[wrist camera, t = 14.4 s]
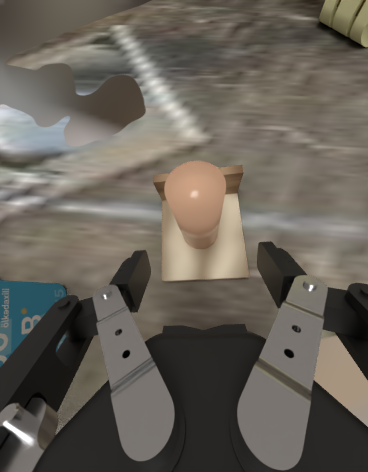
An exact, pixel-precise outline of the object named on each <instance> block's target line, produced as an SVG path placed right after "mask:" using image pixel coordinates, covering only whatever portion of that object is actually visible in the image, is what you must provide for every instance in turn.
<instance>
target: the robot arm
mask: <svg viewBox="0 0 368 472" xmlns="http://www.w3.org/2000/svg"><path fill="white" fill-rule="evenodd" d="M257 267H258V270H259V272H260V274H261V276H262V278H263V280H264V282H265V284H266V286H267V288H268V290H269V292H270V294H271V296H272V298H273V299H274V301H275V303H276V305H277V307H278V308H280V310H279V312H278V315H277V317H276V319H275V322H274V324H273V326H272V329H271V331H270V333H269V336H268V338H267V340H266V339H265V338H263V337H261V336H259V335H257V334H254V333H251V332H248V331H247V330H246V327H245V324H235V325H221V326H218V327H214V328H210V329H207V330H200V329H195V328H191V327H187V326H164V327H163V333H160V334H158V335H155V336H153V337H152V338H150V339H149V340H147V341H146V342H144V340H143V338H142V336H141V334H140V332H139V330H138V328H137V325H136V323H135V321H134V319H133V317H132V315H131V312H138V309H139V306H140V303H141V301H142V298H143V295H144V292H145V289H146V286H147V284H148V281H149V278H150V275H151V267H150V263H149V259H148V255H147V252H146V250H140V251H135V252H134V253H133V255H132V257H131V258H128V259H126V260H125V261H124V262H123V263H122V265H121V266H120V268H119V270H118V272H117V273H116V274H115V276H114V277H113V279H112V281H111V282H110V284H109V285H107V286H104V287H102V288H100V289H99V290H97V291H96V292H95V294H94V295H93V297H91V298H88V299H84V300H81V301H79V299H78V297H77V296H75V295H69V296H66V297H63V298H61V299H60V300H58V301H57V302H55V303H54V304H53V305H52V306H51V308H50V309H49V310H48V311H47V312H46V313H45V315H44V316H43V317H42V318H41V319H40V321H39V322H38V323H37V324H36V325H35V327H34V328H33V329H32V330H31V331H30V333H29V334H28V335H27V336H26V337H25V339H24V340H23V341H22V342H21V343H20V344H19V346H18V347H17V348H16V349H15V350H14V352H13V353H12V354H11V355H10V356H9V358H8V359H7V360H6V361H5V362H4V364H3V365H2V366H1V367H0V472H368V427H367V426H366V425H365V424H364V423H363V422H361V421H360V420H359V419H358V418H357V417H356V416H354V415H353V414H352V413H351V412H350V411H349V410H348V409H346V408H345V407H344V406H343V405H342V404H341V403H339V402H338V401H337V400H336V399H335V398H334V397H333V396H332V395H330V394H329V393H328V392H327V391H326V390H324V388H322V387H321V386H320V385H319V384H318V383H317V382H315V381H314V380H313V379H314V374H315V368H316V362H317V356H318V351H319V345H320V340H321V334H322V329H323V330H327V331H332V332H335V333H336V335H337V336H338V338H339V339H340V340H341V342H342V343H343V345H344V346H345V348H346V349H347V351H348V352H349V354H350V355H351V357H352V358H353V360H354V361H355V362H356V364H357V365H358V367H359V368H360V370H361V371H362V373H363V374H364V376H365V377H366V379H367V380H368V285H367V284H362V283H354V284H351V285H349V287H348V289H347V290H341V289H335V288H329V287H327V285H326V284H325V283H324V282H323V281H321V280H320V279H318V278H315V277H312V276H308V275H307V274H306V273H305V272H304V271H303V269H302V268H301V267H300V266H299V265H298V264H297V263H296V262H295V260H294V259H293V258H292V257H291V256H290V255H289V253H288V252H286V251H285V250H283V249H281V248H276V246H275V245H274V244H273V243H272V242H259V245H258V255H257ZM64 334H65V335H66V338H65V339H64V341H63V342H62V344H61V346H60V347H59V349H58V350H57V352H56V348H57V346H58V344H59V342H60V340H61V339H62V337H63V336H64ZM98 334H99V338H100V342H101V347H102V351H103V356H104V360H105V365H106V369H107V373H108V378H109V380H108V381H107V382H106V383H105V384H104V385H103V386H102V387H101V388H100V389H99V390H98V391H97V392H96V393H95V395H94V396H93V397H92V398H91V399H90V400H89V401H88V402H87V403H86V404H85V405H84V406H83V407H82V408H81V409H80V410H79V411H78V412H77V413H76V414H75V416H74V417H73V418H72V419H71V420H70V421H69V422H68V423H67V424H66V425H65V426H64V427H63V428H62V429H61V430H60V431H59V432H58V434H57V435H56V434H55V432H56V429H57V426H58V414H57V412H58V410H59V407H60V405H61V403H62V401H63V399H64V397H65V395H66V393H67V391H68V389H69V387H70V385H71V382H72V380H73V378H74V376H75V374H76V372H77V370H78V368H79V366H80V364H81V362H82V360H83V358H84V355H85V353H86V351H87V349H88V347H89V345H90V343H91V341H92V339H93V337H94V336H95V335H98Z"/></svg>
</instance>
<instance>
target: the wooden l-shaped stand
mask: <svg viewBox="0 0 368 472" xmlns="http://www.w3.org/2000/svg"><path fill="white" fill-rule="evenodd" d="M218 169H219V170H220V171H221V172H222V174H223V175H224V178H225V181H226V192H225V197H224V203H223V208H222V214H221V219H220V225H219V230H218V235H217V239H216V241H215V242H214V243H213V244H212V245H211V246H210V247H208V248H205V249H195V248H192V247H191V246H189V245H188V244H187V243H186V242H185V240H184V238H183V235H182V233H181V231H180V229H179V226H178V224H177V222H176V219H175V217H174V215H173V213H172V210H171V208H170V206H169V204H168V201H167V199H166V197H165V192H164V187H165V182H166V180H167V178H168V176H169V174H170V173H168V174H159V175H153V183H154V185H155V187H156V189H157V191H158V193H159V195H160V197H161V199H162V281H164V282H169V281H192V280H216V279H239V278H248V277H249V271H248V264H247V257H246V250H245V244H244V237H243V230H242V223H241V217H240V210H239V203H238V196H237V192H238V189H239V185H240V182H241V179H242V176H243V167H242V165H238V166H229V167H220V168H218Z"/></svg>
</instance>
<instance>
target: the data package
mask: <svg viewBox="0 0 368 472" xmlns="http://www.w3.org/2000/svg"><path fill="white" fill-rule="evenodd" d="M66 296H67V294H66V290H65V288H64V287H63V286H62V285H61V284H57V283H39V282H20V281H1V280H0V367H1V366H2V365H3V364H4V362H5V361H6V360H7V359H8V358H9V356H10V355H11V354H12V353H13V352H14V350H15V349H16V348H17V347H18V346H19V344H20V343H21V342H22V341H23V340H24V339H25V337H26V336H27V335H28V334H29V333H30V331H31V330H32V329H33V328H34V327H35V325H36V324H37V323H38V322H39V321H40V319H41V318H42V317H43V316H44V315H45V313H46V312H47V311H48V310H49V309H50V308H51V306H52V305H53V304H54V303H55V302H57V301H58V300H60V299H61V298H63V297H66ZM65 338H66V335H65V334H64V336H63V337H62V339H61V340H60V342H59V344H58V346H57V348H56V352H57V350H58V349H59V347H60V346H61V344H62V342H63V341H64V339H65Z"/></svg>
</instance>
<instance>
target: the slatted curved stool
mask: <svg viewBox="0 0 368 472" xmlns="http://www.w3.org/2000/svg"><path fill="white" fill-rule="evenodd" d="M319 21H320V22H322V23H324V24H325V25H327V26H329V27H331V28H333V29H334V30H336V31H338V32H340V33H341V34H343V35H345V36H347V37H350V39H352V40H354V41H356V42H357V43H359V44H361V45H363V46H364V47H368V0H325V3H324V5H323V8H322V11H321V14H320V17H319Z"/></svg>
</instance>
